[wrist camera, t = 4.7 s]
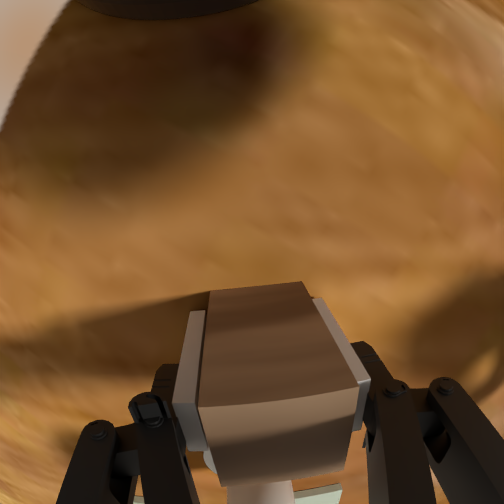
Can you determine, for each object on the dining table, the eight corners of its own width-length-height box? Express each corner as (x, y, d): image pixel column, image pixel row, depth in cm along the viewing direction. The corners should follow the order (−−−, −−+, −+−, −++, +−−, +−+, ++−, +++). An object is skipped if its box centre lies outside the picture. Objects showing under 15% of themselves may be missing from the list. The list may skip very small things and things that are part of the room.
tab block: (210, 290, 15) (197, 407, 8) (301, 281, 16) (359, 386, 8) (221, 364, 17) (221, 486, 9) (302, 355, 17) (343, 470, 9)
